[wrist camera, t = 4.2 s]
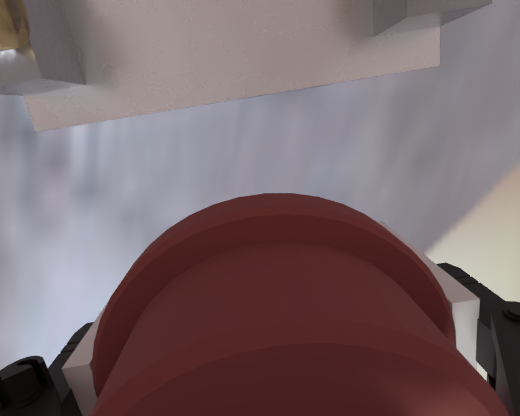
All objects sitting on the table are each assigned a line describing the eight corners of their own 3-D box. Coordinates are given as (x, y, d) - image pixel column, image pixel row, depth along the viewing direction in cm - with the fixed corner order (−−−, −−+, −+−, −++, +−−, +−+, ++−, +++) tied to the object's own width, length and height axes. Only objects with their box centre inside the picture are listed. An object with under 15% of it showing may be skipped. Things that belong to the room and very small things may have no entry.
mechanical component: (163, 335, 18) (161, 150, 15) (343, 341, 18) (374, 165, 16) (5, 782, 6) (-141, 299, 3) (521, 749, 7) (778, 333, 4)
